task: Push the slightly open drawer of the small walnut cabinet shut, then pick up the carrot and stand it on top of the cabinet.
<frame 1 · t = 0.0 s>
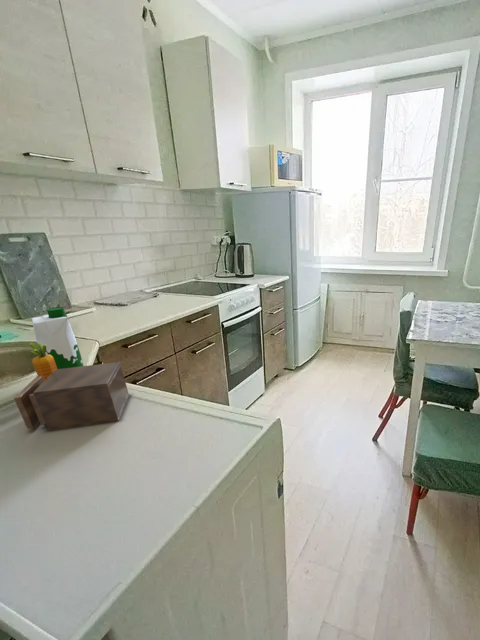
cabinet: (92, 412, 84), on the countertop
carrot: (57, 397, 93), on the countertop
milk carton: (70, 377, 104), on the countertop
drawer: (61, 397, 81), point 5 cm above the countertop, slide at 3.0 cm
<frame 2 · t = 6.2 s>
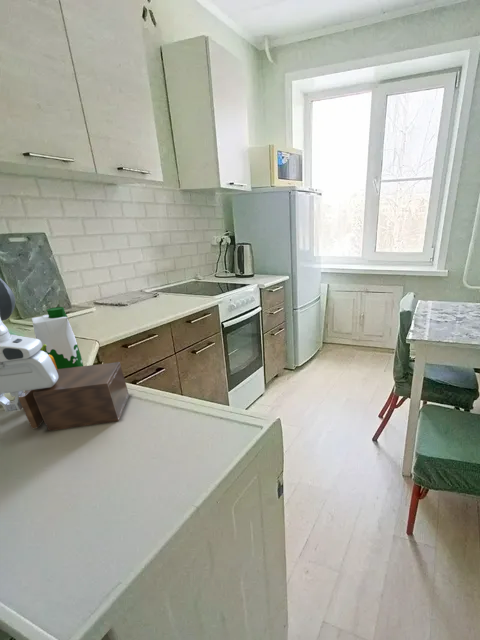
hand: (15, 409, 76), 5 cm above the countertop, tool pointing down, fingers closed
drawer: (65, 397, 82), point 5 cm above the countertop, slide at 2.1 cm, touching gripper
everything else where it was.
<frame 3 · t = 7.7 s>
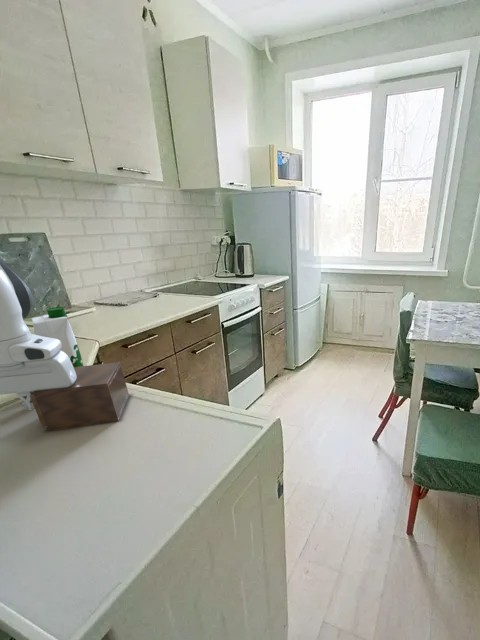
hand: (32, 408, 77), 5 cm above the countertop, tool pointing down, fingers closed, pressing on drawer
drawer: (75, 396, 82), point 5 cm above the countertop, slide at 0.0 cm, touching cabinet, gripper
everything else where it was.
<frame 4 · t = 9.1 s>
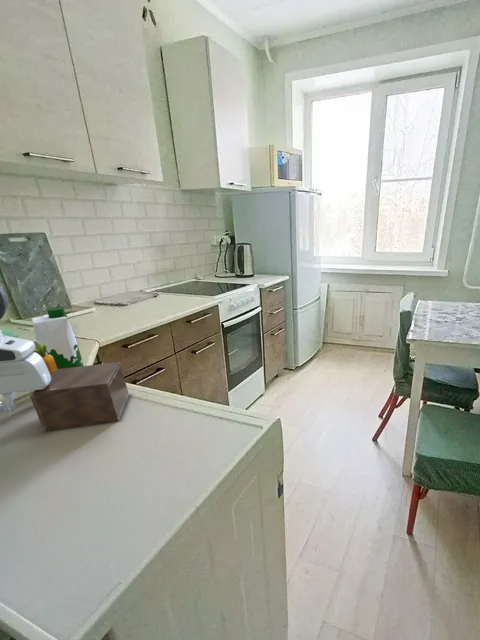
hand: (6, 411, 76), 5 cm above the countertop, tool pointing down, fingers closed
drawer: (75, 396, 82), point 5 cm above the countertop, slide at 0.0 cm, touching cabinet
everything else where it was.
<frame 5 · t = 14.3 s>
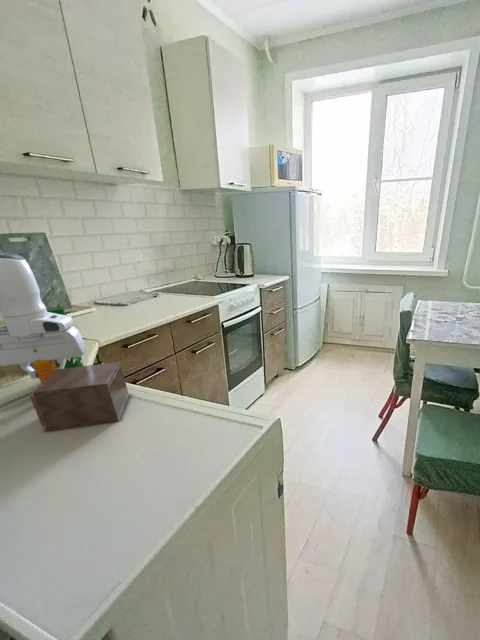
hand: (49, 376, 90), 6 cm above the countertop, tool pointing down, fingers closed on carrot, 5 cm apart
carrot: (57, 397, 93), on the countertop, touching gripper
everything else where it was.
when the fingers open (15 cm above the countertop, at t = 21.6 s): carrot stays where it is, resting on cabinet.
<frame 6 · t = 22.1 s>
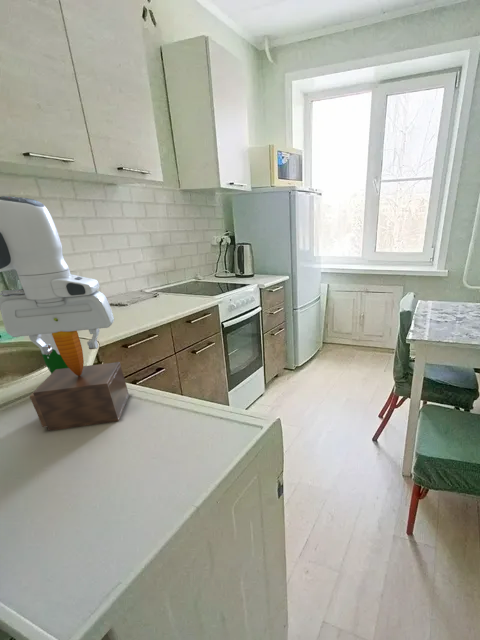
hand: (71, 350, 77), 16 cm above the countertop, tool pointing down, fingers open, 8 cm apart
carrot: (79, 376, 80), point 9 cm above the countertop, touching cabinet
everything else where it was.
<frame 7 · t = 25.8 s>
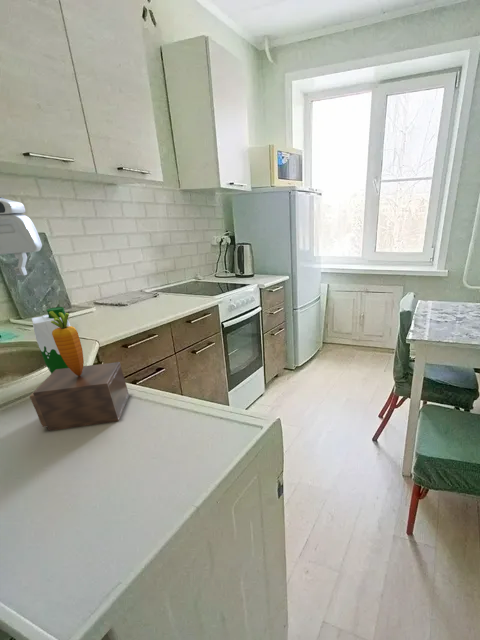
nothing on the countertop moved.
at the end: drawer slide at 0.0 cm; carrot inside the target area on the cabinet (0.1 cm from its centre), point 9.4 cm above the cabinet's base; carrot tilted 0° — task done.
